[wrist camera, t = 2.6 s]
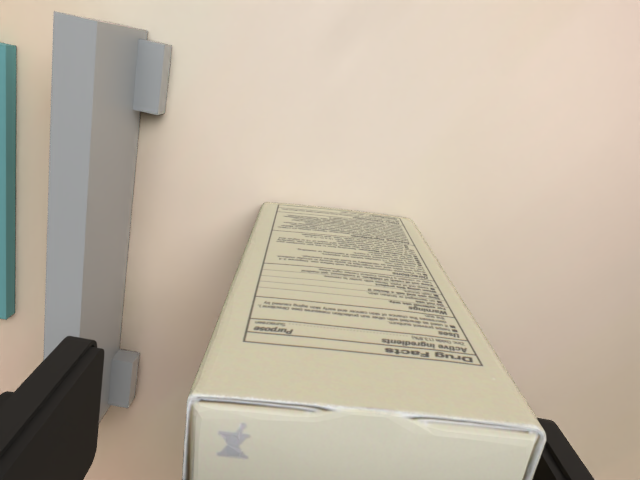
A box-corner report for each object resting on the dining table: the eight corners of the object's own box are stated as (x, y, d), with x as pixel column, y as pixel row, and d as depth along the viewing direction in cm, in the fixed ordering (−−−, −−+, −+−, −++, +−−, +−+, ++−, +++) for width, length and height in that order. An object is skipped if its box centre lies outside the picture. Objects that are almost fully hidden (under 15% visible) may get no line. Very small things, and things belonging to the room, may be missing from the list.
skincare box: (253, 296, 21) (159, 581, 9) (262, 197, 19) (162, 390, 8) (403, 314, 21) (493, 617, 9) (423, 217, 20) (557, 436, 8)
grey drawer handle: (172, 36, 17) (129, 28, 14) (134, 402, 23) (95, 469, 19) (88, 17, 17) (21, 4, 14) (69, 389, 23) (17, 455, 19)
